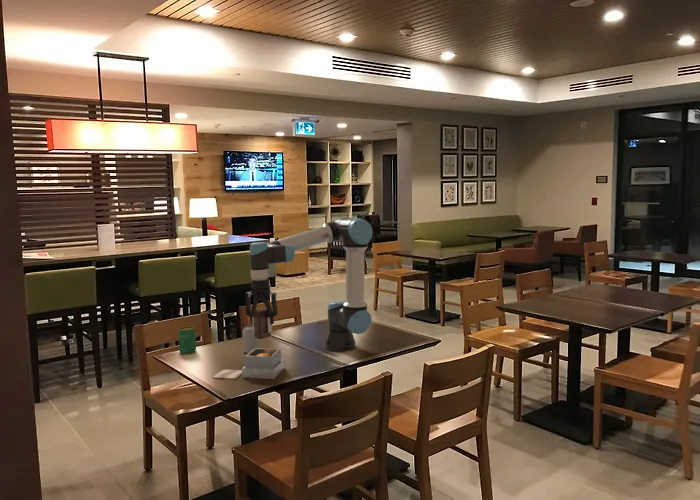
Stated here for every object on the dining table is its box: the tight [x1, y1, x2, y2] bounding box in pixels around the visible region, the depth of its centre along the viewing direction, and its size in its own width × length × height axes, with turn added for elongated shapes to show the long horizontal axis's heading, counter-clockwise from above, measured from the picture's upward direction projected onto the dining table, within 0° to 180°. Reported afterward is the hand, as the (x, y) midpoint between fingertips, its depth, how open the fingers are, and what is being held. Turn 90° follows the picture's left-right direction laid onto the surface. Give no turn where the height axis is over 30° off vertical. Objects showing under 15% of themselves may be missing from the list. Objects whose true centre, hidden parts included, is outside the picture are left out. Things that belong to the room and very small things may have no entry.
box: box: [253, 308, 272, 340], centre depth 242 cm, size 6×4×12 cm
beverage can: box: [177, 326, 197, 355], centre depth 276 cm, size 8×8×12 cm
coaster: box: [212, 369, 242, 381], centre depth 242 cm, size 10×10×1 cm
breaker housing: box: [241, 347, 285, 380], centre depth 244 cm, size 14×14×9 cm
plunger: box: [257, 353, 270, 357], centre depth 243 cm, size 6×6×4 cm
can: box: [242, 326, 260, 354], centre depth 275 cm, size 8×8×12 cm
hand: (262, 331), depth 242 cm, fingers closed on box, 6 cm apart
